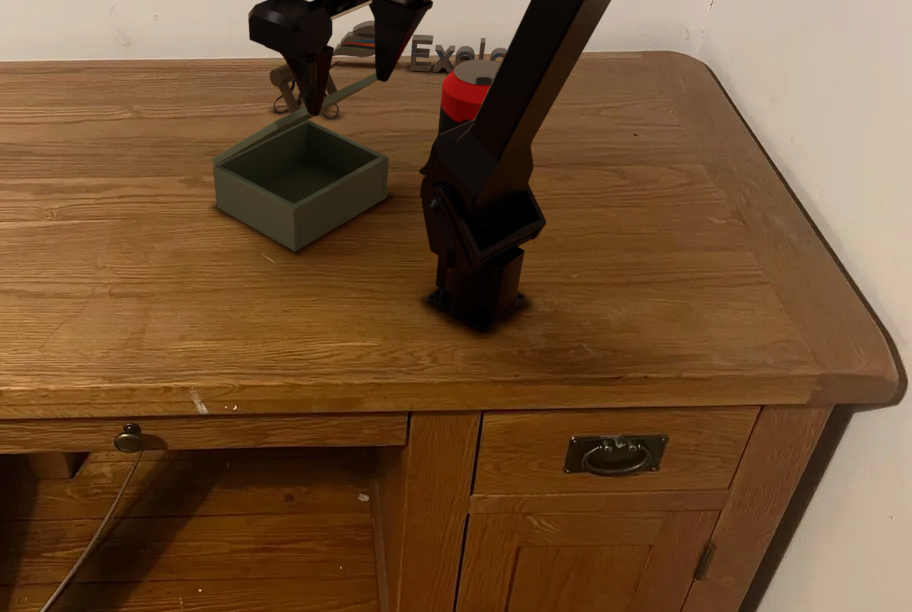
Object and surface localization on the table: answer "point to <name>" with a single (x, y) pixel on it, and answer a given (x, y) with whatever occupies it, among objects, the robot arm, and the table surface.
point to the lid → (292, 109)
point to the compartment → (301, 183)
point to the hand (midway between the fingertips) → (348, 97)
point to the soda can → (465, 92)
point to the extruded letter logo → (364, 46)
